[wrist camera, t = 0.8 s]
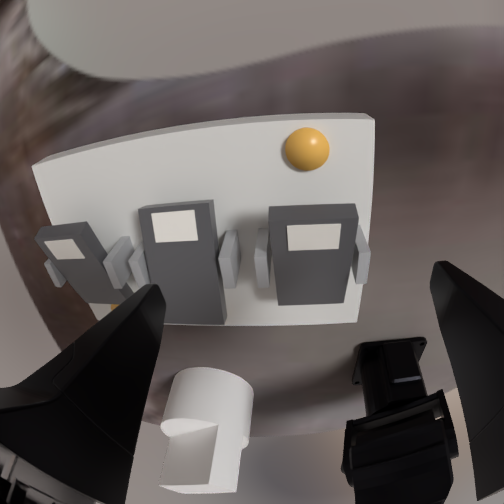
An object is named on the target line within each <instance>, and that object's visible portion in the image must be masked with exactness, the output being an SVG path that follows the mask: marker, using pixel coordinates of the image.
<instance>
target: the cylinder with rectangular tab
mask: <svg viewBox="0 0 504 504" xmlns="http://www.w3.org/2000/svg"><path fill="white" fill-rule="evenodd" d="M253 397H254V392H253V389H252V387H251V386H250V385H249V383H248V382H246V381H245V380H243V379H242V378H241V377H239V376H236V375H234V374H232V373H230V372H226V371H223V370H220V369H214V368H207V367H195V368H187V369H185V370H182V371H180V372H178V373H177V374H176V375H175V377H174V380H173V383H172V386H171V390H170V393H169V397H168V400H167V404H166V407H165V411H164V414H163V418H162V422H161V425H160V427H161V430H162V431H163V432H164V433H165V434H166V435H167V436H168V437H170V439H169V444H168V447H167V452H166V456H165V460H164V464H163V468H162V472H161V476H160V481H159V486H161V487H164V488H166V489H169V490H172V491H176V492H179V493H186V494H189V493H191V494H195V493H196V494H198V493H226V492H236V489H237V482H238V473H239V465H240V457H241V450H242V449H243V448H245V447H246V446H247V445H248V443H249V434H250V425H251V416H252V407H253Z"/></svg>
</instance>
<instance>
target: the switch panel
mask: <svg viewBox="0 0 504 504" xmlns="http://www.w3.org/2000/svg"><path fill="white" fill-rule="evenodd" d="M374 140H375V120H374V119H373V118H371V117H370V116H368V115H367V114H365V113H304V114H282V115H267V116H254V117H243V118H233V119H224V120H215V121H208V122H200V123H193V124H186V125H180V126H174V127H168V128H162V129H157V130H151V131H146V132H141V133H136V134H131V135H127V136H122V137H118V138H113V139H109V140H105V141H101V142H97V143H93V144H89V145H85V146H81V147H78V148H74V149H70V150H67V151H63V152H60V153H57V154H53V155H50V156H48V157H46V158H44V159H43V160H41V161H39V162H38V163H36V164H34V165H33V166H32V169H33V173H34V176H35V179H36V182H37V185H38V188H39V191H40V194H41V196H42V199H43V202H44V205H45V208H46V210H47V213H48V216H49V218H50V221H51V223H52V226H53V225H61V224H69V223H77V222H85V221H87V222H88V224H89V225H90V227H91V229H92V230H93V232H94V233H95V235H96V237H97V238H98V240H99V241H100V243H101V245H102V246H103V248H104V249H105V251H106V252H107V254H108V255H107V257H106V258H105V259H104V261H103V264H104V266H105V269H106V271H107V274H108V276H109V278H110V280H111V283H112V285H113V287H114V289H122V288H123V286H124V285H125V283H126V282H127V284H128V285H129V287H130V288H131V289H132V291H133V292H134V293H135V292H136V291H137V290H139V289H140V288H141V287H142V286H144V285H145V284H151V279H150V275H149V270H148V265H147V260H146V254H145V249H144V243H143V238H142V232H141V226H140V220H139V214H138V209H139V208H141V207H143V206H145V205H155V204H165V203H175V202H186V201H198V200H210V199H214V209H215V218H216V227H217V236H218V245H219V253H220V254H219V258H218V259H219V264H220V269H221V274H222V278H223V286H224V294H225V301H226V309H227V319H226V322H225V324H224V325H205V326H278V325H312V324H334V323H352V322H357V318H358V312H359V306H360V300H361V293H362V287H363V284H367V277H368V270H369V263H370V255H371V252H370V249H369V246H368V238H369V228H370V217H371V205H372V190H373V172H374ZM346 203H355V205H356V208H357V212H358V216H359V222H358V228H357V235H356V241H355V247H354V252H353V258H352V263H351V269H350V274H349V279H348V284H347V289H346V294H345V299H344V303H338V304H316V305H288V306H278V300H277V291H276V283H275V274H274V265H273V257H272V249H271V240H270V232H269V224H268V212H269V206H288V205H313V204H346ZM44 265H45V267H46V269H47V271H48V273H49V275H50V277H51V279H52V281H53V283H54V284H55V286H56V287H62V286H63V285H64V283H65V282H66V281H67V280H66V279H65V278H64V276H63V275H62V274H61V273H60V272H59V270H58V269H57V268H56V267H55V265H54V264H53V263H52V262H51V260H50V259H48V260H47V261H46V262H45V263H44ZM88 304H89V305H90V307H91V309H92V311H93V313H94V315H95V316H96V318H97V320H101V319H102V318H103V317H105V316H106V315H107V314H108V313H110V312H111V311H112V310H113V309H115V308H116V307H117V306H118V305H117V304H96V303H88ZM164 324H165V323H164ZM171 325H194V324H171Z"/></svg>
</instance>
